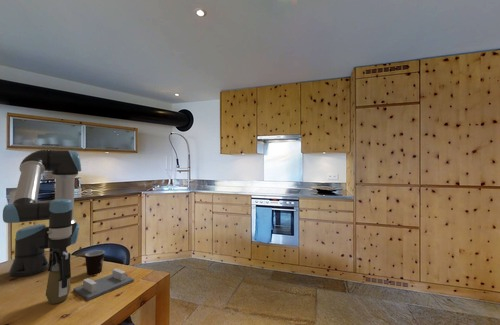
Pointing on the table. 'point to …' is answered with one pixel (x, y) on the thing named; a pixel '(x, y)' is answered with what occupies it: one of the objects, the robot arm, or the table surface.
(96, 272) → the coffee mug
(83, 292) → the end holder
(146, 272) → the table surface
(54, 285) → the squeeze bottle
